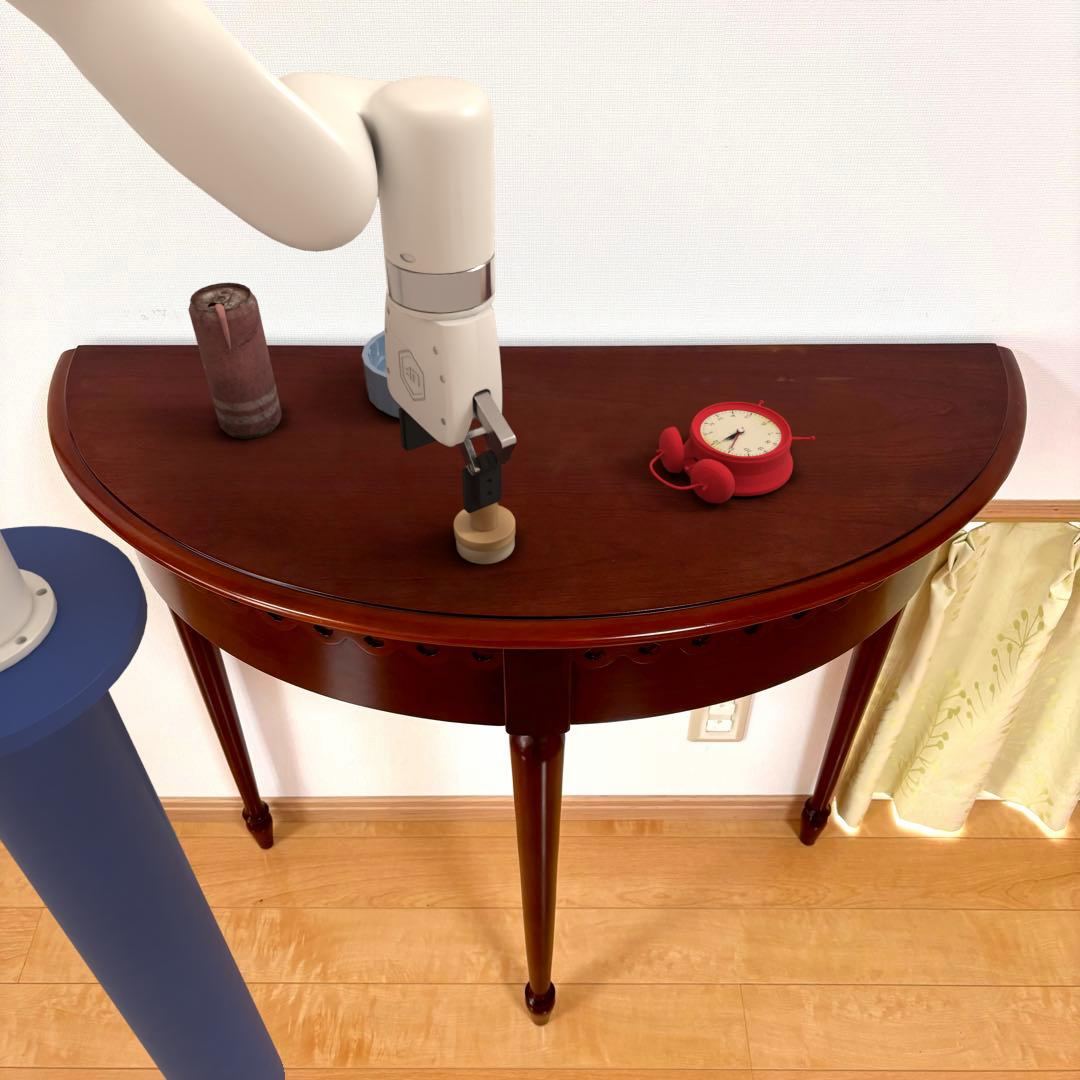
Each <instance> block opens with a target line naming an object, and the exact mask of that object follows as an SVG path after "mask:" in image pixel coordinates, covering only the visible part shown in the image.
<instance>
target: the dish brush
mask: <svg viewBox="0 0 1080 1080" xmlns="http://www.w3.org/2000/svg"><path fill="white" fill-rule="evenodd" d="M466 467H467V466H466V465H465V468H466ZM516 532H517V531H516V518H515V516H514V515H513V513H512V512H511V511H510V510H509V509H508V508H506V507H504V506H502V505H499V502H497V503H495V504H492V505H490V506H487V507H485V508H482V509H480V510H477V511H475V512H473V513H467V512H466V511H465V510H464V509H461V510H460V511H459V512H458V513H457V514H456V516H455V517H454V521H453V534H454V538H455V544H456V550H457V552H458V554H459V555H460V557H462V558H463V559H464V560H466V561H468V562H470V563H474V564H478V565H493V564H496V563H499V562H501V561H503V560H505V559H507V558H508V557H509V556H511V554H512V553H513V551H514V549H515V546H516V545H515V544H516V541H515V540H516V539H515V536H516Z"/></svg>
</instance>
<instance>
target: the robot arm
mask: <svg viewBox="0 0 1080 1080" xmlns="http://www.w3.org/2000/svg"><path fill="white" fill-rule="evenodd" d="M4 1H5V2H7V3H8V4H9V5H11V6H12V7H13V8H15V9H16V10H17V11H18V12H19V13H20V14H22V15H24V17H26V18H27V19H29V20H30V21H31V22H32V23H33V24H35V25H36V26H37V27H38V28H40V30H42V31H43V32H44V33H45V34H47V35H48V36H49V37H50V38H51V39H52V40H53V41H54V42H55V43H56V44H57V45H58V46H59V47H60V48H61V50H62V51H63V53H64V54H65V55H66V56H67V58H68V59H69V60H70V61H71V62H72V64H73V65H74V66H75V68H76V69H77V70H78V71H79V73H80V74H81V75H82V76H83V77H84V78H85V79H86V80H87V81H88V83H90V84H91V85H92V87H94V89H95V90H96V91H97V92H98V93H99V94H100V96H102V97H103V98H104V99H105V100H106V101H107V102H108V104H109V105H110V106H111V107H112V108H113V109H114V110H115V111H116V112H117V113H118V115H119V116H120V117H121V118H122V119H124V121H125V122H126V123H127V125H129V127H130V128H132V130H133V131H134V132H135V133H136V135H138V136H139V137H140V138H141V139H142V140H143V141H144V142H145V143H146V144H147V145H148V146H149V147H150V148H151V149H152V150H153V151H154V152H155V153H156V154H158V155H159V156H160V157H161V158H162V159H163V160H164V161H165V162H166V163H168V164H169V165H170V166H171V167H172V168H173V169H174V170H176V171H177V172H178V173H179V174H181V175H182V176H183V177H184V178H185V179H187V180H188V181H189V182H191V183H192V184H194V185H195V187H197V188H199V189H200V190H202V191H203V192H204V193H205V194H207V195H208V196H210V197H211V198H212V199H214V200H215V201H216V202H217V203H219V204H220V205H221V206H223V207H225V208H226V209H227V210H228V211H229V212H231V213H232V214H234V215H235V216H236V217H237V218H239V219H240V220H242V221H243V222H244V223H246V224H247V225H249V226H250V227H252V228H253V229H255V230H256V231H258V232H259V233H261V234H263V235H264V236H266V237H268V238H269V239H271V240H272V241H276V242H278V243H280V244H282V245H285V246H287V247H289V248H293V249H297V250H300V251H304V252H328V251H332V250H336V249H338V248H342V247H344V246H346V245H347V244H350V243H351V242H353V241H354V240H355V239H356V238H357V237H358V236H359V235H361V233H362V232H363V231H364V230H365V229H366V227H367V226H368V224H369V223H370V222H371V220H372V217H373V214H374V212H375V209H376V206H377V201H378V203H379V211H380V212H379V213H380V224H381V235H382V246H383V258H384V269H385V281H386V291H385V302H384V330H385V356H386V373H387V384H388V389H389V392H390V394H391V395H392V397H393V398H394V399H395V401H396V402H397V404H398V405H399V406H401V407H402V408H399V418H398V419H399V429H400V440H401V447H402V448H403V449H404V450H405V451H407V452H409V451H413V450H415V449H418V448H421V447H424V446H426V445H430V444H432V443H435V442H439V443H440V444H441V445H444V446H446V447H448V448H450V447H451V448H452V447H455V446H456V445H458V448H459V450H460V452H461V455H462V458H463V460H464V462H465V467H464V468H463V469H461V482H462V485H461V486H462V504H463V505H462V507H463V510H465V511H466V512H467V513H473V512H475V511H477V510H480V509H482V508H485V507H487V506H490V505H492V504H495V503H497V502H498V503H499V502H500V501H501V500H502V499H503V492H502V491H503V479H502V477H503V476H502V475H503V471H502V469H503V467H502V466H503V465H505V464H506V463H507V462H509V461H511V460H512V453H513V452H514V450H515V448H516V446H517V443H518V441H517V437H516V435H515V433H514V432H513V430H512V429H511V427H510V425H509V423H508V422H507V420H506V418H505V417H504V416H503V379H502V365H501V353H500V343H499V342H500V341H499V336H498V335H499V334H498V327H497V321H496V315H495V314H496V313H495V307H494V306H493V303H494V301H495V299H496V251H495V250H496V249H495V248H496V247H495V246H496V241H495V237H496V229H495V228H496V226H495V217H496V216H495V211H496V210H495V128H494V127H495V123H494V121H495V120H494V109H493V105H492V103H491V101H490V98H489V96H488V95H487V93H486V92H485V91H484V90H483V89H482V88H480V87H479V85H477V84H475V83H473V82H471V81H468V80H464V79H461V78H457V77H452V76H442V75H424V76H423V75H422V76H421V75H420V76H412V77H407V78H402V79H399V80H395V81H392V80H379V79H372V78H363V77H357V76H350V75H343V74H335V73H329V72H322V71H321V72H319V71H297V72H292V73H288V74H284V75H282V76H279V77H277V76H276V75H275V74H274V73H272V72H271V71H270V70H269V69H268V68H267V67H266V66H264V65H263V64H262V63H261V62H260V61H259V60H258V59H257V58H256V57H255V56H254V55H253V54H252V53H250V51H249V50H248V49H246V48H245V46H243V45H242V44H241V42H240V41H239V40H238V39H237V38H236V37H235V35H233V34H232V33H231V32H230V30H229V29H227V27H226V26H225V25H224V24H223V23H222V22H221V21H220V19H219V18H218V17H217V16H216V15H215V13H214V12H213V11H212V9H210V7H209V6H208V5H207V3H206V2H205V0H4ZM474 420H477V421H479V424H480V425H481V426H478V427H475V428H473V429H470V428H471V425H472V422H473V421H474ZM481 436H483V438H484V440H485V444H486V446H487V450H485V451H483V452H482V453H480V454H479V455H477V453H476V451H475V449H474V446H473V443H472V439H476V438H478V437H481ZM466 466H467V467H466ZM56 614H57V601H56V598H55V595H54V593H53V591H52V589H51V587H50V586H49V584H48V583H47V582H46V581H45V580H44V579H43V578H42V577H40V576H38V575H36V574H34V573H32V572H29V571H26V570H22V569H19V568H18V566H17V564H16V562H15V560H14V558H13V556H12V554H11V552H10V550H9V548H8V546H7V544H6V542H5V540H4V538H3V536H2V534H1V532H0V672H1V671H3V670H5V669H7V668H8V667H10V666H12V665H14V664H16V663H17V662H18V661H20V660H21V659H23V658H24V657H25V656H27V655H28V654H29V653H31V652H32V651H33V650H34V649H35V648H36V647H37V646H38V645H39V644H40V643H41V642H42V641H43V639H44V638H45V637H46V636H47V634H48V633H49V631H50V630H51V628H52V626H53V624H54V622H55V618H56Z"/></svg>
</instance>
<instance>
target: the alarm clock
mask: <svg viewBox="0 0 1080 1080" xmlns="http://www.w3.org/2000/svg"><path fill="white" fill-rule="evenodd" d="M763 405H764V400H761V399H760V400H759V401H758V404H756V403H751V402H745V401H725V402H719V403H714V404H711V405H708V406H707V407H705V408H703V409H701V410H700V411H698V413H697V414H696V415H695V416H694V418H693V420H692V421H691V423H690V426H689V437H688V439H687V440H686V441H685V442H683V439H682V436H681V434H680V431H679V430H678V428H677V427H675V426H670V427H667V428H665V429H664V430H662V432H661V433H660V436H659V441H658V449H656V450H655V454H658V455H656V456H655V457H654V458H653V459H651V461H650V463H649V470H650V472H651V474H652V475H653V476H654V477H655V478H656V479H657V480H658V481H659V482H661V483H662V484H664V485H665V486H666V487H669V488H672V489H674V490H681V491H685V490H691V489H692V490H693V492H694V493H695V494H696V495H697V496H698V497H699V498H700V499H702V500H703V501H705V502H707V503H710V504H722V503H725V502H726V501H728V500H729V499H730V498H731V497H732V496H733V497H734V496H735V497H753V496H760V495H765V494H768V493H771V492H773V491H775V490H778V489H779V488H781V487H783V486H784V485H785V484H786V483H787V482H788V481H789V480H790V478H791V477H792V476H791V475H792V473H793V468H794V460H793V457H792V454H791V451H790V449H791V445H792V442H793V441H808V440H810V441H811V442H814V441H815V440H816V437H815V436H814V435H811V436H810V437H809V436H806V437H805V436H804V437H802V436H792V435H793V434H792V431H791V427H790V425H789V424H788V422H787V420H786V419H785V418H784V417H783V416H781V415H780V414H779V413H777V412H776V411H774V410H772V409H771V408H768V407H765V406H763ZM683 443H684V444H683ZM658 459H660V460H661V461H660V462H661V463H662V465H663V468H665V470H666V471H667V472H669V473H672V474H680V473H681V472H682V471H684V472H685V474H686V475H687V476H688V477H689V479H690V480H689V481H690V485H688V486H677V485H674V484H672V483H670V482H667V481H666V480H664V479H663V478H661V476H659V475H658V474H657V473H656V471H655V470H654V468H653V465H654V463H655V462H656V461H658Z"/></svg>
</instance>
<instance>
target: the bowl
mask: <svg viewBox="0 0 1080 1080" xmlns="http://www.w3.org/2000/svg"><path fill="white" fill-rule="evenodd" d="M361 360H362V367H363V373H364V380H365V388H366V393H367V396H368V399H369V401H370V402H371V403H372V405H374V406H375V408H377V409H378V410H380V411H382V412H383V413H385V414H386V415H389V416H391V417H394V418H397V419H399V408H402V407H401V406H399V405H398V404H397V402H396V401H395V399H394V398H393V397H392V395H391V394H390V392H389V389H388V384H387V373H386V356H385V329H384V330H382V331H380V332H379V333H377V334H376V335H374V336H372V337H371V338H370V339H369V340H368V341H367V342H366V343H365V344H364V345H363V350H362V353H361Z"/></svg>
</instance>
